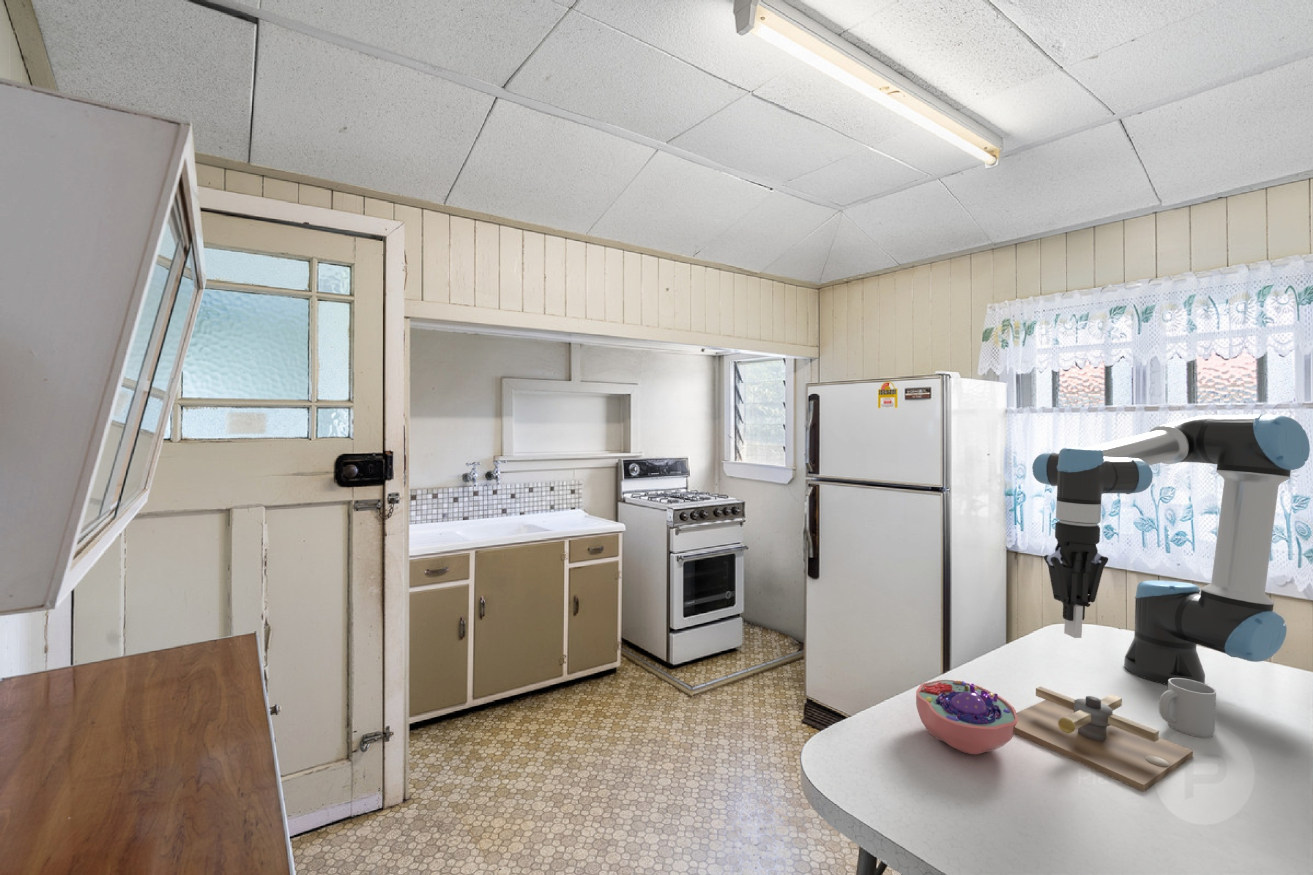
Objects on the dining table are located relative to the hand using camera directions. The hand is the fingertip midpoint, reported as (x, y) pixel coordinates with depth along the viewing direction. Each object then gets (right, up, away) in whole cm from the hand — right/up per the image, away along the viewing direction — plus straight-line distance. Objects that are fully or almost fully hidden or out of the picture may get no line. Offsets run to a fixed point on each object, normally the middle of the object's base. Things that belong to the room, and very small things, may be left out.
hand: (1072, 635), depth 121 cm
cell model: (-27, -18, -9) cm, 34 cm away
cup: (+21, -19, -2) cm, 28 cm away
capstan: (-2, -14, -8) cm, 16 cm away
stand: (-1, -18, -7) cm, 20 cm away
